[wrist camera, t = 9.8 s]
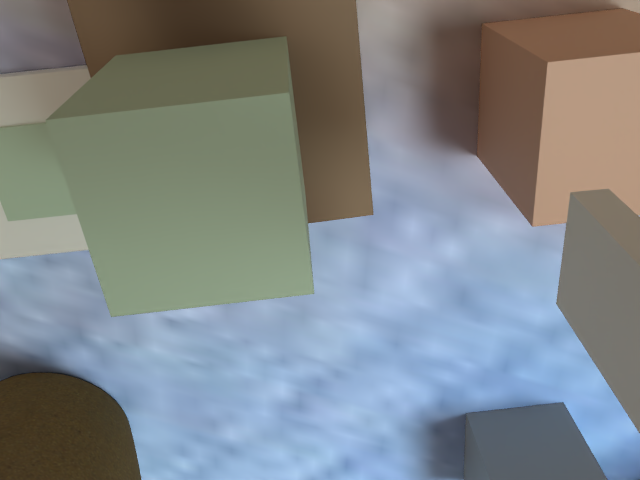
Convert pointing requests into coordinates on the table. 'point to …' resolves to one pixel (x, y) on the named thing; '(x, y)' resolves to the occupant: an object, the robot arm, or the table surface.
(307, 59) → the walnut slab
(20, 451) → the plant pot
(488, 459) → the slate block
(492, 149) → the terracotta block
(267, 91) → the sage block
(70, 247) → the tile
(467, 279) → the table surface
